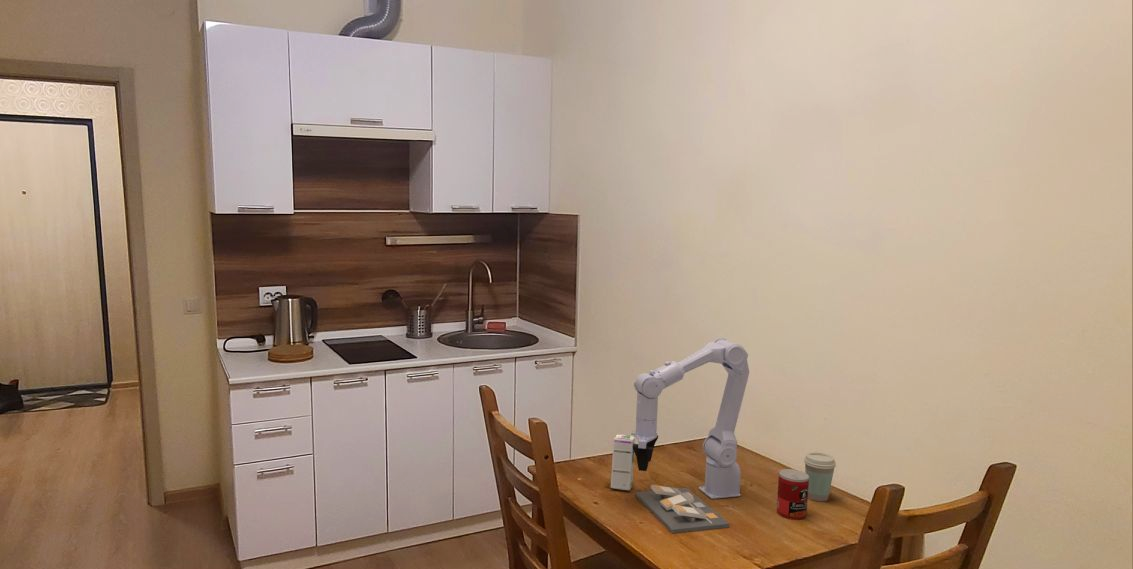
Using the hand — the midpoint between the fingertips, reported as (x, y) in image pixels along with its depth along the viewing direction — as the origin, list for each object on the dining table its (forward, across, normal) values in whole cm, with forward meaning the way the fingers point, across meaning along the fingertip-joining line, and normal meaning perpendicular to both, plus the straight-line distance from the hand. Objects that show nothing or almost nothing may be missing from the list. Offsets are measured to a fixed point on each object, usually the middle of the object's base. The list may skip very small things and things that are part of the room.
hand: (644, 465), depth 200 cm
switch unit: (+10, +4, +11) cm, 15 cm away
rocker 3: (+7, +11, +13) cm, 19 cm away
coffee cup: (+10, -18, +47) cm, 52 cm away
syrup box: (+9, -6, -7) cm, 13 cm away
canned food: (+10, -4, +40) cm, 41 cm away
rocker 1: (+7, -1, +6) cm, 9 cm away
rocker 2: (+7, +5, +10) cm, 13 cm away
